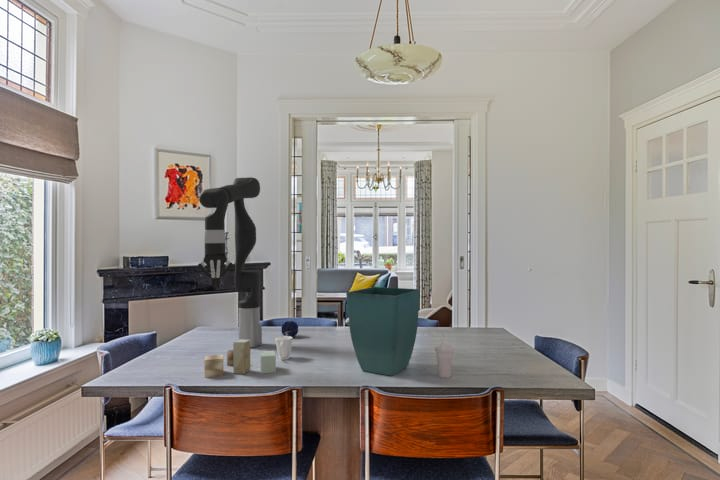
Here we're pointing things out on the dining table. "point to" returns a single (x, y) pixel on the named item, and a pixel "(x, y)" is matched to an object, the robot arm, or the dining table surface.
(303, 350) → the dining table surface
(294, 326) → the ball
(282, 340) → the cup
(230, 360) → the walnut cylinder
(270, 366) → the sage block
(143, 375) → the dining table surface
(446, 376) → the smoothie
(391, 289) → the flower pot
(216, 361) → the beech cube
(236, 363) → the box
